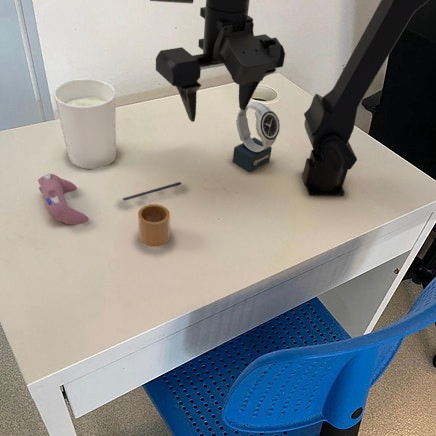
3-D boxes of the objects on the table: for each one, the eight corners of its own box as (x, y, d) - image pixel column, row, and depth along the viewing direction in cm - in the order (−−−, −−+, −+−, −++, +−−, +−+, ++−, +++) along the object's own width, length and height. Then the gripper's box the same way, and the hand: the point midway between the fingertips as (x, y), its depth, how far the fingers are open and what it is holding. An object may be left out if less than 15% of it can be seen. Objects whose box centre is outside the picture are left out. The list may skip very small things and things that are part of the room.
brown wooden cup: (160, 229, 77) (160, 200, 73) (174, 246, 75) (175, 218, 71) (134, 237, 76) (132, 209, 72) (147, 255, 73) (146, 227, 69)
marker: (134, 173, 77) (185, 184, 84) (130, 169, 78) (182, 181, 85) (121, 206, 80) (173, 215, 86) (118, 203, 81) (169, 212, 87)
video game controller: (55, 202, 82) (28, 173, 77) (78, 187, 82) (53, 158, 76) (68, 240, 76) (39, 212, 71) (93, 224, 76) (66, 195, 70)
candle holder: (109, 176, 86) (102, 111, 77) (55, 166, 86) (42, 100, 78) (127, 146, 92) (123, 84, 84) (77, 137, 93) (68, 74, 84)
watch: (257, 177, 89) (266, 121, 81) (225, 157, 92) (231, 101, 84) (277, 166, 92) (288, 111, 84) (245, 147, 95) (253, 92, 87)
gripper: (196, 37, 57) (190, 154, 69) (319, 18, 65) (296, 127, 76) (153, 4, 63) (154, 117, 75) (270, -10, 71) (255, 95, 82)
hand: (217, 114), depth 77 cm, fingers open, 9 cm apart
